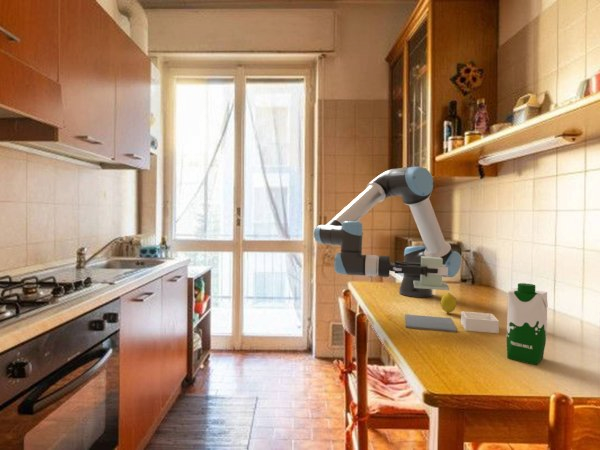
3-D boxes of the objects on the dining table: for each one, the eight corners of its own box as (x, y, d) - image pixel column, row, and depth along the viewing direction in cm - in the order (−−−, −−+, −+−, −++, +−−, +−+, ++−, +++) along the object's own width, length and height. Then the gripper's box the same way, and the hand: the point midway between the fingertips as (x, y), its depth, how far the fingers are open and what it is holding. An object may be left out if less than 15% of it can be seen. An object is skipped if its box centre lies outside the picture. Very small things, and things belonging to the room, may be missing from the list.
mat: (405, 315, 148) (405, 314, 148) (450, 319, 144) (450, 318, 144) (406, 327, 132) (406, 325, 132) (457, 332, 128) (457, 330, 128)
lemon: (457, 315, 150) (457, 294, 150) (441, 314, 151) (442, 293, 151) (454, 312, 155) (455, 291, 155) (439, 311, 156) (440, 291, 156)
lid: (413, 282, 144) (414, 255, 144) (445, 284, 141) (446, 256, 141) (414, 287, 133) (415, 258, 133) (449, 290, 131) (450, 260, 131)
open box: (460, 322, 140) (461, 311, 140) (491, 325, 138) (492, 313, 138) (465, 330, 130) (466, 318, 130) (498, 333, 128) (499, 321, 128)
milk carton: (502, 358, 105) (505, 283, 105) (511, 350, 112) (514, 279, 112) (540, 367, 100) (544, 288, 99) (547, 358, 106) (551, 283, 106)
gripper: (379, 272, 151) (442, 276, 146) (376, 280, 132) (449, 285, 127) (379, 253, 151) (443, 256, 145) (377, 258, 132) (450, 262, 126)
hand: (446, 270), depth 136 cm, fingers closed on lid, 7 cm apart
